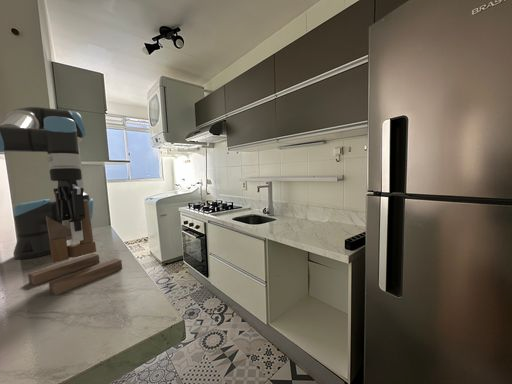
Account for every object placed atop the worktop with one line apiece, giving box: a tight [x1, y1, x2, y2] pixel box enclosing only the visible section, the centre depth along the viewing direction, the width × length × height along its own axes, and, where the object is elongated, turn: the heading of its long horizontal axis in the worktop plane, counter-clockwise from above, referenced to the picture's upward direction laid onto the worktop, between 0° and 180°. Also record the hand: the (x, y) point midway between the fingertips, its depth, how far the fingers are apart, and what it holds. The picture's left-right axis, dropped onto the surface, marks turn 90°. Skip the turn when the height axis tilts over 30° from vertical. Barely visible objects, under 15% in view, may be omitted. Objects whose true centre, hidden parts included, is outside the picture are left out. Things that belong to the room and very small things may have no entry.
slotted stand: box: [27, 253, 123, 296], centre depth 71 cm, size 18×18×3 cm
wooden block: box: [46, 200, 97, 264], centre depth 70 cm, size 4×11×18 cm, turn 139°
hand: (74, 240), depth 70 cm, fingers closed on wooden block, 4 cm apart
